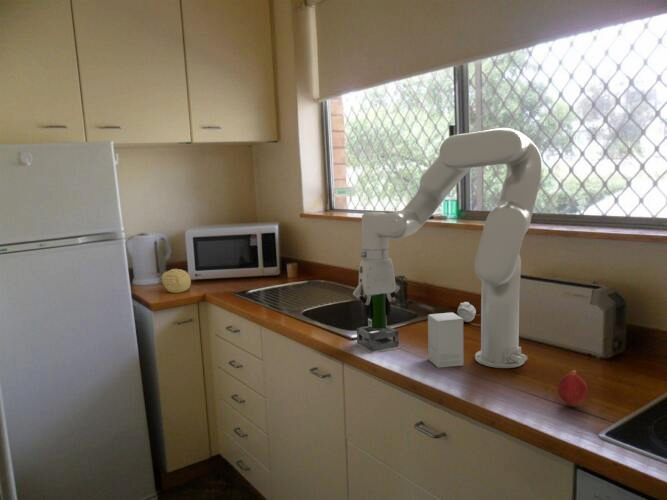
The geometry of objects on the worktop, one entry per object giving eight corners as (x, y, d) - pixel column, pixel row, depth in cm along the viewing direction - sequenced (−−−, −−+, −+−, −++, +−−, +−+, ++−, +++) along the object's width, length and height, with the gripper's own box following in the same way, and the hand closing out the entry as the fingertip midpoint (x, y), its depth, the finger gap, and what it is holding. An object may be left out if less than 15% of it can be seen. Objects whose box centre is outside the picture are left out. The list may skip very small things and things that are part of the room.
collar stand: (400, 347, 155) (399, 331, 154) (371, 353, 151) (370, 336, 150) (383, 339, 163) (383, 323, 163) (355, 344, 159) (355, 327, 159)
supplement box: (464, 365, 139) (464, 318, 137) (437, 368, 137) (436, 320, 136) (453, 356, 146) (453, 311, 144) (427, 358, 145) (427, 313, 143)
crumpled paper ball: (453, 323, 178) (453, 302, 177) (462, 318, 183) (462, 298, 182) (471, 325, 174) (471, 305, 173) (479, 320, 180) (479, 300, 179)
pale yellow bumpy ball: (159, 293, 241) (157, 270, 240) (176, 288, 252) (174, 265, 251) (179, 295, 237) (177, 271, 235) (196, 289, 248) (194, 266, 246)
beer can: (375, 332, 153) (374, 291, 151) (364, 328, 157) (363, 288, 155) (390, 328, 155) (389, 288, 154) (379, 324, 160) (378, 285, 158)
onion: (557, 410, 111) (558, 373, 110) (556, 399, 117) (557, 364, 115) (588, 413, 109) (589, 376, 108) (586, 402, 114) (587, 366, 113)
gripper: (355, 259, 146) (356, 323, 149) (408, 253, 153) (409, 314, 156) (343, 255, 153) (345, 317, 156) (394, 250, 160) (395, 309, 163)
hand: (377, 315), depth 156 cm, fingers closed on beer can, 5 cm apart
